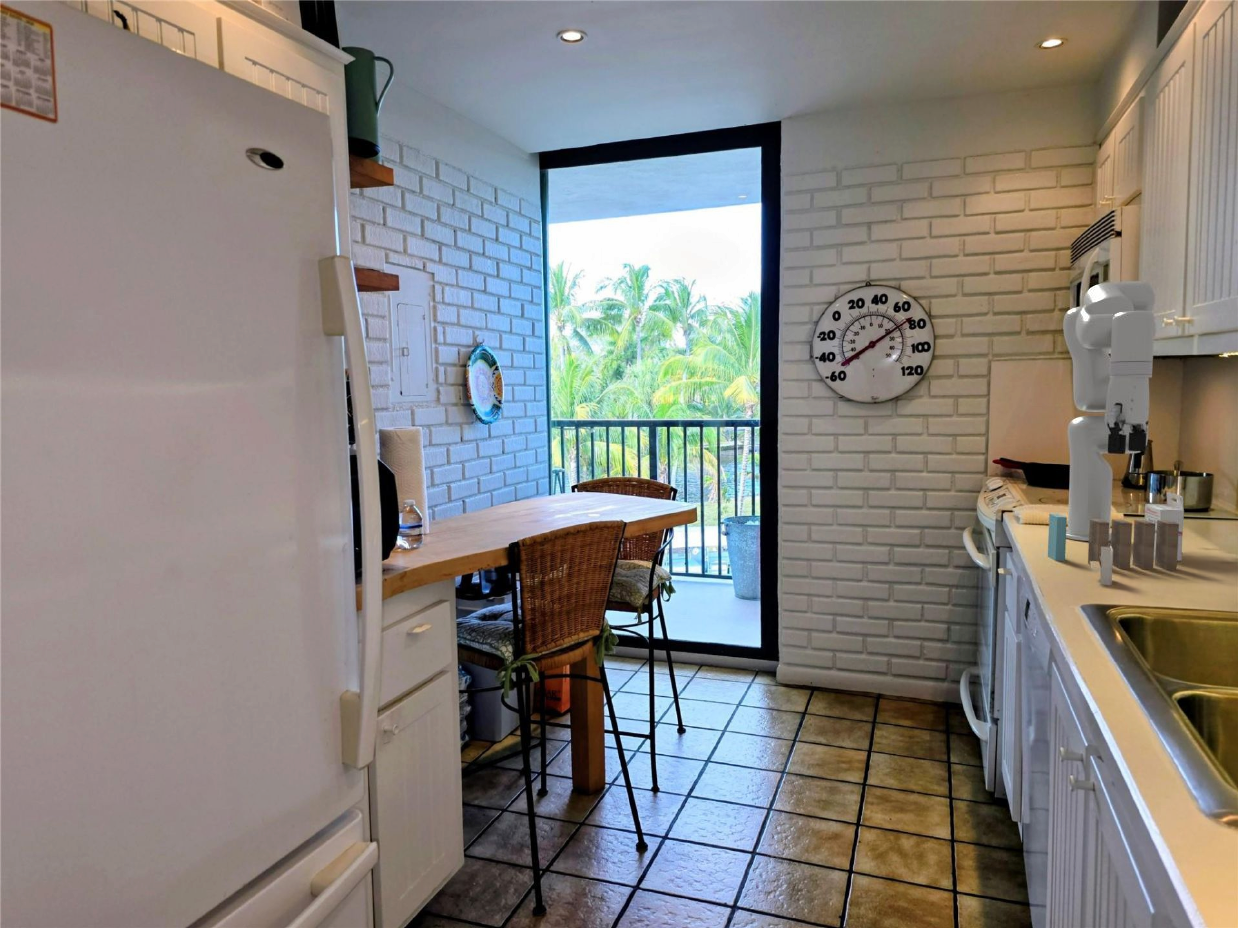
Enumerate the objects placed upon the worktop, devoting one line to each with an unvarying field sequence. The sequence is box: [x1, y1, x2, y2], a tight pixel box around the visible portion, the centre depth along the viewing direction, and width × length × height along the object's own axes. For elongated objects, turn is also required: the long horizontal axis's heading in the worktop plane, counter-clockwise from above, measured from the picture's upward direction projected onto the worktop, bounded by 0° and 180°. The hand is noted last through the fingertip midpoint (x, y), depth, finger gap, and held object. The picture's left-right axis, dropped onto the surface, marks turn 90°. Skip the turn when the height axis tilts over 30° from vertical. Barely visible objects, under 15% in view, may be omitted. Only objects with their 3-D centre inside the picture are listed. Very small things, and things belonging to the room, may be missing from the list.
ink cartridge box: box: [1144, 491, 1185, 562], centre depth 184 cm, size 9×5×15 cm, turn 168°
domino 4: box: [1131, 519, 1155, 571], centre depth 174 cm, size 5×2×10 cm, turn 170°
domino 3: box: [1110, 518, 1133, 570], centre depth 174 cm, size 5×2×10 cm, turn 170°
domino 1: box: [1047, 513, 1068, 562], centre depth 183 cm, size 5×2×10 cm, turn 170°
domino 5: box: [1154, 520, 1179, 572], centre depth 173 cm, size 5×2×10 cm, turn 170°
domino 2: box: [1087, 519, 1109, 566], centre depth 175 cm, size 5×2×10 cm, turn 170°
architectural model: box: [1090, 545, 1113, 586], centre depth 162 cm, size 3×7×7 cm, turn 152°
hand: (1126, 452), depth 170 cm, fingers open, 9 cm apart
